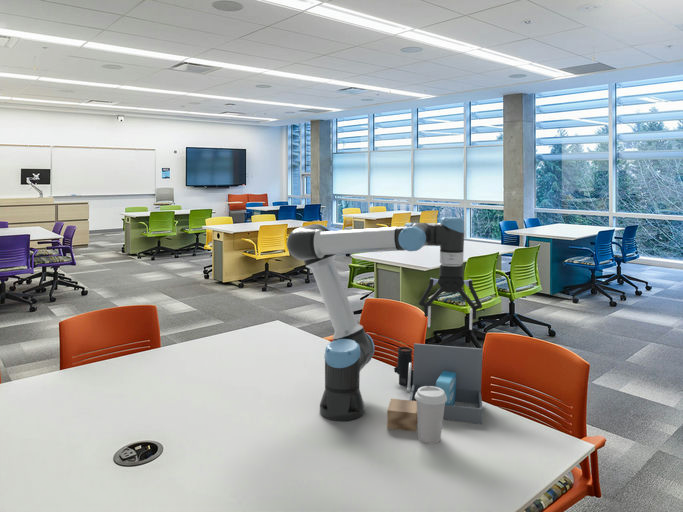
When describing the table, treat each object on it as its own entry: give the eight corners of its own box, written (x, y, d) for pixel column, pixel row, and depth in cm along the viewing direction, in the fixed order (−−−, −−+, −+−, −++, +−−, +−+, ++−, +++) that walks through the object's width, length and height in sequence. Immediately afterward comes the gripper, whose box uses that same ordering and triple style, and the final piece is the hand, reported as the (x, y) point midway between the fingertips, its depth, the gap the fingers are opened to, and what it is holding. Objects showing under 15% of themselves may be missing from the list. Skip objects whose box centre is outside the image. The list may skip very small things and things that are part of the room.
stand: (387, 428, 159) (387, 410, 158) (390, 415, 168) (391, 398, 167) (415, 431, 157) (416, 413, 156) (418, 418, 166) (418, 401, 165)
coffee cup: (447, 433, 156) (449, 387, 154) (443, 448, 147) (445, 399, 145) (416, 428, 159) (418, 383, 157) (410, 443, 150) (412, 395, 148)
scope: (420, 353, 188) (393, 351, 190) (419, 389, 189) (392, 386, 192) (421, 347, 195) (396, 345, 198) (420, 381, 197) (395, 378, 200)
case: (403, 415, 168) (404, 357, 165) (408, 396, 183) (409, 343, 180) (482, 424, 162) (484, 364, 159) (480, 403, 177) (482, 348, 175)
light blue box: (448, 418, 166) (449, 383, 164) (434, 415, 168) (435, 381, 166) (455, 404, 177) (456, 371, 175) (442, 401, 179) (443, 369, 177)
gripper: (412, 264, 164) (411, 328, 167) (491, 267, 159) (489, 332, 162) (414, 261, 172) (413, 322, 175) (490, 264, 166) (487, 326, 169)
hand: (449, 327), depth 168 cm, fingers open, 13 cm apart
